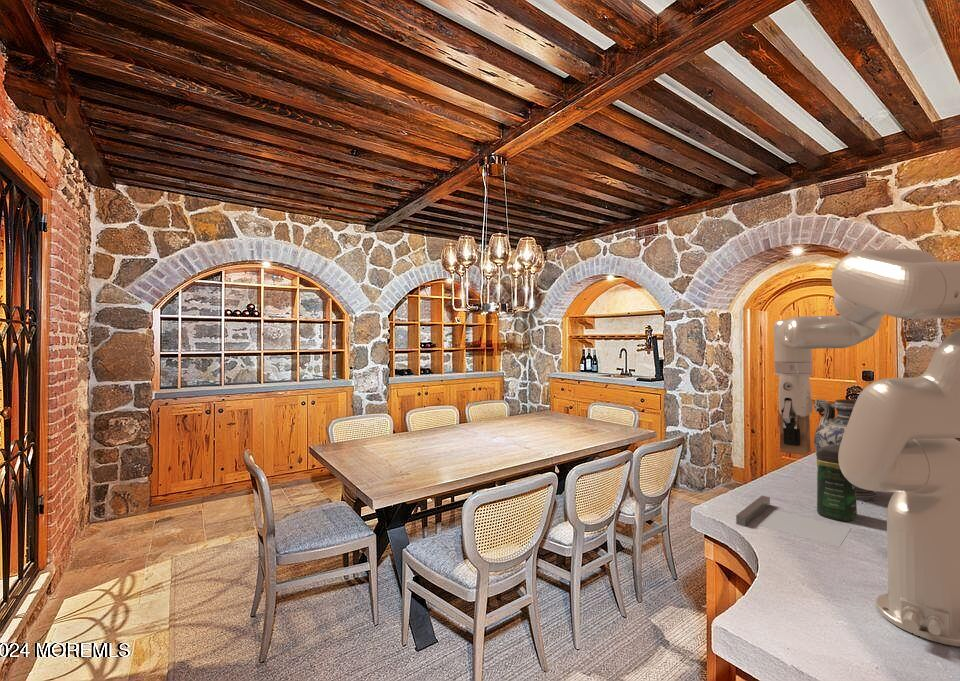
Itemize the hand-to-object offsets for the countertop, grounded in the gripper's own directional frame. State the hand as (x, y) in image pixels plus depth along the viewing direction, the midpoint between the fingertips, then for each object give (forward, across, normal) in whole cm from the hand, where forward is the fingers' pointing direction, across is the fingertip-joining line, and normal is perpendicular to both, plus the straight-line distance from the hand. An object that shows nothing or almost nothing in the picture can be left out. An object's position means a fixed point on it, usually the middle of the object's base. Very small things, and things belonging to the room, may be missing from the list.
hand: (795, 442), depth 107 cm
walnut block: (+2, 0, 0) cm, 2 cm away
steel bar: (+22, +4, +11) cm, 24 cm away
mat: (+22, +4, 0) cm, 22 cm away
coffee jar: (+22, +19, -4) cm, 29 cm away
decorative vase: (+22, +42, -4) cm, 47 cm away
